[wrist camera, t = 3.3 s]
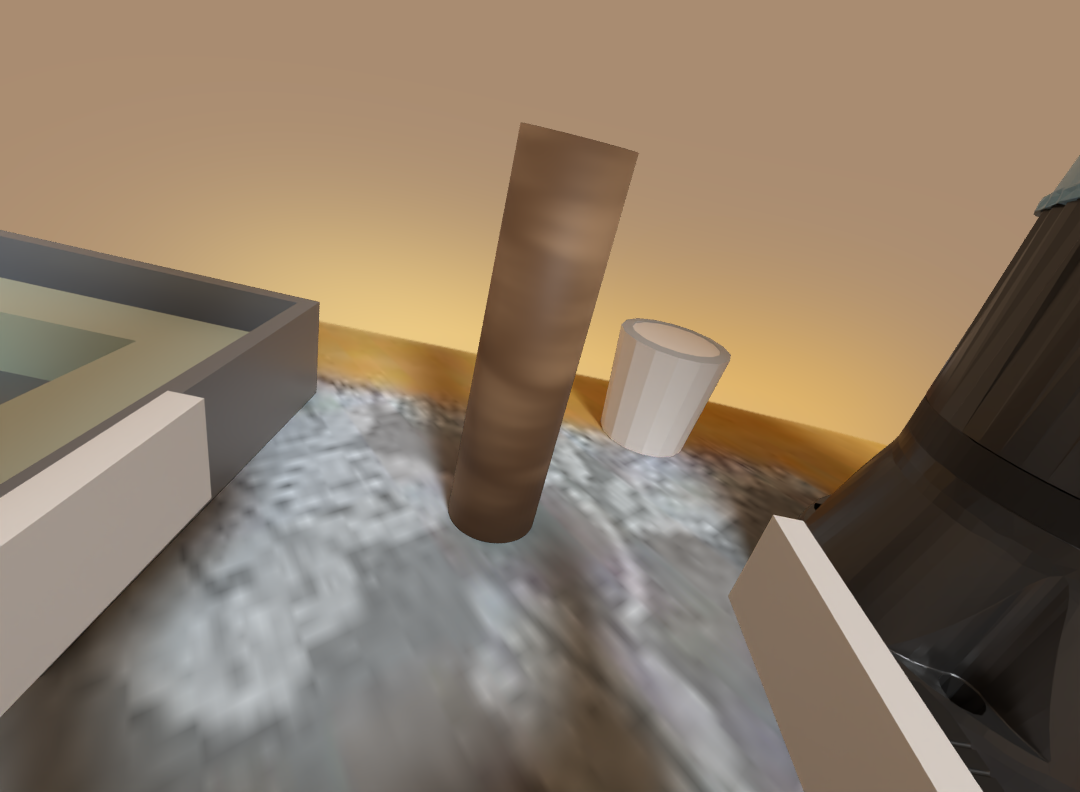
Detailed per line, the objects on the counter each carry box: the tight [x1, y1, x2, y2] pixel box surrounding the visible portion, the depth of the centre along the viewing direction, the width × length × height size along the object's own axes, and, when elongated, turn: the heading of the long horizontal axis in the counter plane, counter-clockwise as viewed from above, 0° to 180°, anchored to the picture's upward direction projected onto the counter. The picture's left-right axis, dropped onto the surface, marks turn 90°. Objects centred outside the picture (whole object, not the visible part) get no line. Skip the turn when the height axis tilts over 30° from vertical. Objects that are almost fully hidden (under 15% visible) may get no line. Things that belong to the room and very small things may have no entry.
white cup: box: [601, 318, 731, 457], centre depth 33 cm, size 7×7×7 cm
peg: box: [448, 123, 638, 543], centre depth 20 cm, size 4×4×16 cm
